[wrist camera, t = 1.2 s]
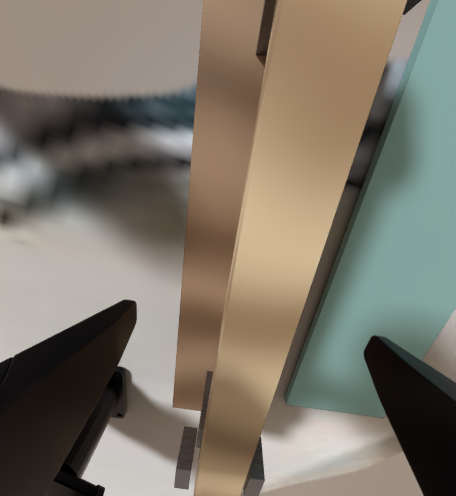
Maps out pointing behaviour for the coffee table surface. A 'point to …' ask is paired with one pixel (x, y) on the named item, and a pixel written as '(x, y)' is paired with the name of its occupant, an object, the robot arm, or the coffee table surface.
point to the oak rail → (288, 209)
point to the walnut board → (216, 182)
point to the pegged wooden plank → (189, 435)
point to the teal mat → (393, 237)
